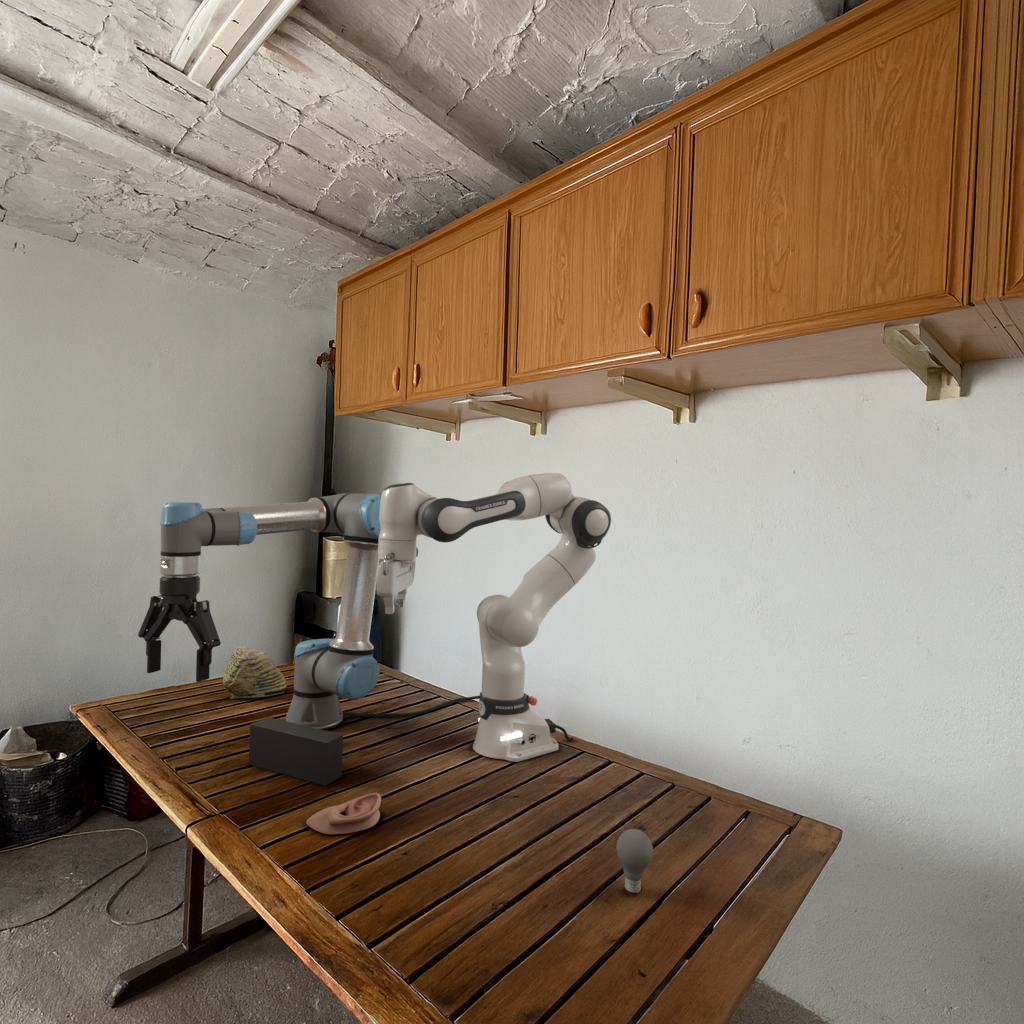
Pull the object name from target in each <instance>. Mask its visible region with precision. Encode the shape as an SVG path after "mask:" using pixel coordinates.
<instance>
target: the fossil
mask: <svg viewBox="0 0 1024 1024" xmlns="http://www.w3.org/2000/svg"><path fill="white" fill-rule="evenodd" d="M222 676H223V677H222V685H223V687H224V688H225V690H226V691H228V693H229V698H230V699H250V698H264V697H271V696H275V695H281V694H284V693H285V691H286V689H287V687H288V686H287V680H286V678H285V676H284V674H283V673H282V672H281V669H279V668H278V667H277V665H276V663H275V662H274V660H273V659H272V658H271V657H270V656H269V655H268V654H267V653H266V652H265V650H264V649H263V648H260V647H258V648H251V647H247V646H246V647H245V646H238V647H237V648H236V649H235V650H233V651H232V653H231V656H230V657H229V659H228V660H227V663H226V666H225V668H224V671H223V675H222Z"/></svg>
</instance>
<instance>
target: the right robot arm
mask: <svg viewBox="0 0 1024 1024" xmlns="http://www.w3.org/2000/svg"><path fill="white" fill-rule="evenodd" d="M381 495H382V496H381V501H380V511H379V522H380V527H381V530H380V534H379V538H378V559H380V560H382V561H380V562H379V567H378V575H377V582H376V594H377V596H378V597H383V604H384V613H385V615H393V614H394V613H395V608H396V607H397V608H404V607H405V605H406V598H407V593H408V588H410V587H411V586H413V584H414V581H415V572H416V563H417V560H416V559H417V557H419V547H417V537H418V536H421V535H423V536H424V537H427V538H430V539H433V540H434V541H436V542H439V543H452V542H454V541H456V540H459V539H460V538H462V536H463V535H465V534H466V533H468V532H469V531H471V530H473V529H474V528H478V527H481V526H484V525H490V524H492V523H497V522H500V521H512V522H513V521H516V522H517V521H525V520H533V519H536V518H539V517H540V518H541V517H544V518H545V521H546V523H547V524H548V526H549V527H550V529H552V530H553V531H554V532H555V533H557V534H560V535H561V537H560V540H559V542H558V543H557V544H556V546H555V547H554V548H552V550H550V551H549V552H548V553H547V554H545V555H544V556H543V557H542V558H541V559H540V560H539V561H538V562H537V563H536V564H534V565H533V566H532V567H531V568H530V569H529V570H527V572H525V574H524V576H523V578H522V580H521V582H520V584H519V585H518V587H517V588H516V589H515V590H514V592H513V593H512V594H511V595H509V596H507V595H504V594H493V595H488V596H486V597H484V598H483V599H482V600H481V601H480V602H479V604H478V606H477V609H476V618H477V621H478V622H477V623H478V630H479V643H480V644H479V645H480V652H481V660H482V661H481V662H482V668H481V669H482V670H481V692H479V696H480V698H479V701H478V715H479V718H478V724H477V729H476V734H475V737H474V738H475V739H474V741H473V744H472V749H473V751H474V752H476V753H477V754H479V755H481V756H483V757H487V758H491V759H497V760H505V761H508V762H513V763H518V762H522V761H526V760H529V759H532V758H536V757H540V756H543V755H546V754H550V753H553V752H557V751H559V748H560V747H559V746H560V745H559V742H558V741H557V740H556V739H555V738H554V737H553V736H551V734H556V731H557V730H556V729H558V730H560V731H561V732H562V733H563V735H564V738H565V739H566V740H567V741H568V742H573V741H574V737H573V736H572V737H569V736H568V732H567V730H566V729H565V728H564V727H562V726H560V725H558V724H556V723H554V721H552V719H550V718H543V717H542V716H541V715H540V714H539V713H537V712H536V711H535V710H534V709H532V708H531V707H530V705H531V706H532V707H533V706H536V705H537V704H538V699H537V698H536V697H534V696H533V695H529V694H527V693H525V682H526V681H525V679H526V677H525V676H526V663H525V659H524V657H523V656H524V655H523V650H522V648H524V647H527V646H529V645H530V644H531V643H533V642H534V640H535V639H536V638H537V635H538V632H539V627H540V625H541V624H542V623H543V621H544V619H545V618H546V616H547V615H548V614H549V612H550V611H551V609H553V607H554V606H555V605H556V604H557V603H558V602H559V601H560V600H561V599H562V598H563V597H564V596H566V594H567V593H568V592H570V590H571V589H573V588H574V587H575V586H576V585H577V584H578V583H579V582H580V581H581V580H582V579H583V578H584V576H586V574H587V573H588V572H589V571H590V569H591V568H592V567H593V566H594V564H595V562H596V559H597V553H596V550H595V548H596V547H598V546H600V545H601V544H602V541H603V539H604V538H605V537H606V535H607V534H608V532H609V530H610V528H611V524H612V516H611V513H610V510H609V509H608V508H607V507H606V505H604V504H602V503H601V502H599V501H597V500H593V499H590V498H586V497H582V496H574V494H573V489H572V485H571V483H570V481H569V479H568V478H567V477H566V476H565V475H564V474H561V473H557V472H546V473H545V472H544V473H534V474H528V475H524V476H520V477H515V478H513V479H511V480H508V481H506V482H504V483H503V484H501V486H500V487H499V489H498V492H497V493H495V494H492V495H487V496H484V497H478V498H475V499H474V498H473V499H471V500H460V499H456V498H451V497H442V498H441V497H439V498H438V497H436V496H434V495H431V494H430V493H427V492H426V491H424V490H422V489H421V488H419V486H417V485H416V484H415V483H413V482H403V483H395V484H390V485H387V486H386V487H385V488H384V489H383V490H382V492H381ZM395 595H397V596H396V600H395V601H394V599H395ZM394 603H396V604H394ZM395 606H396V607H395Z"/></svg>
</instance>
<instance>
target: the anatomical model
mask: <svg viewBox="0 0 1024 1024" xmlns="http://www.w3.org/2000/svg"><path fill="white" fill-rule="evenodd" d="M381 803H382V796H381V794H380V793H379V792H373V793H368V794H364V795H362V796H358V797H356V798H353V799H351V800H348V801H346V802H343V803H340V804H338V805H332V806H328V807H325V808H323V809H321V810H319V811H317V812H315V813H313V814H312V815H311V816H310V817H308V818H307V819H306V821H305V824H306V825H307V826H308V827H309V828H311V829H312V830H314V831H316V832H319V833H321V834H323V835H343V834H351V833H356V832H362V831H365V830H367V829H369V828H370V829H371V828H372V827H374V826H375V825H376V824H377V823H379V821H380V818H381V812H380V810H379V809H380V807H381Z"/></svg>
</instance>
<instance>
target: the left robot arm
mask: <svg viewBox="0 0 1024 1024" xmlns="http://www.w3.org/2000/svg"><path fill="white" fill-rule="evenodd" d="M381 496H382V494H377V493H371V492H370V493H359V492H357V493H356V492H343V493H338V494H333V495H326V496H318V497H317V496H315V497H311V498H309V499H308V500H307V501H300V502H299V501H298V502H281V503H268V504H255V505H254V504H253V505H239V506H225V507H224V506H223V507H213V508H211V507H209V508H203V505H202V504H201V502H195V501H194V502H193V501H167V502H165V503H163V505H162V508H161V515H160V560H159V562H160V563H159V564H160V565H159V574H161V575H162V576H161V577H160V578H159V594H157V595H152V596H150V599H149V600H150V601H149V607H148V609H147V611H146V615H145V617H144V619H143V621H142V624H141V626H140V628H139V630H138V633H137V635H138V638H141V639H143V640H144V641H145V655H146V661H147V662H146V673H147V674H152V673H155V672H156V673H157V672H159V671H161V668H162V639H161V635H162V634H163V632H164V631H165V630H166V628H167V627H168V625H169V624H170V623H171V622H172V621H173V620H176V621H179V622H182V623H183V624H184V625H186V626H187V628H188V630H189V632H190V633H191V635H192V637H193V639H194V640H195V642H196V644H197V645H198V647H199V648H198V649H196V663H195V664H196V665H195V666H196V667H195V682H196V683H200V682H204V681H206V680H209V679H210V665H211V664H212V662H213V661H212V660H213V659H212V657H213V649H214V648H216V647H219V646H221V643H222V642H221V639H220V637H219V634H218V630H217V628H216V625H215V621H214V619H213V616H212V613H211V608H210V606H211V605H210V600H208V599H206V600H199V601H198V599H197V596H198V594H199V593H200V591H201V577H200V576H199V575H200V573H201V567H202V565H201V563H202V562H201V557H202V547H213V546H214V547H215V546H216V547H218V546H238V547H239V546H243V545H250V544H252V543H253V542H254V541H255V539H256V537H257V536H259V535H271V534H280V533H290V532H300V531H309V530H310V531H311V532H313V533H335V534H342V535H343V540H342V541H343V543H344V545H346V547H347V554H346V562H345V570H344V576H343V584H342V590H341V591H342V592H341V600H340V605H339V612H338V613H339V614H338V620H337V627H336V634H335V638H317V639H308V640H304V641H300V642H299V643H297V645H296V646H295V650H294V655H293V657H294V672H293V673H294V674H293V695H292V696H293V697H292V699H291V702H290V704H289V707H288V709H287V713H286V715H285V721H286V722H291V723H295V724H299V725H303V726H308V727H312V728H316V729H321V730H325V731H329V730H332V729H335V728H337V727H339V726H340V725H342V723H343V722H344V716H349V717H356V718H392V717H393V718H399V717H400V718H402V717H404V718H405V717H412V716H418V715H423V714H426V713H429V712H433V711H436V710H438V709H441V708H443V707H445V706H448V705H449V706H450V705H452V704H456V703H459V702H465V701H472V700H473V701H474V700H478V699H479V698H480V695H474V696H468V697H467V696H466V697H459V698H455V699H452V700H447V701H446V702H442V703H440V704H437V705H435V706H431V707H429V708H426V709H421V710H417V711H411V712H401V713H396V712H394V713H390V712H389V713H358V712H352V711H343V709H342V706H341V702H340V699H339V698H342V699H347V700H352V701H357V700H360V699H363V698H364V697H366V696H368V695H369V694H370V692H371V691H373V690H374V689H375V687H376V686H377V683H378V680H379V678H380V673H381V672H380V671H381V670H380V665H379V664H378V661H377V660H376V659H375V658H374V648H375V647H374V645H373V644H372V643H371V641H370V635H371V626H372V620H373V619H372V618H373V611H374V605H375V604H374V603H375V598H376V597H375V596H376V591H377V577H378V568H379V564H380V560H381V559H378V538H379V534H380V530H381V527H380V522H379V511H380V501H381Z"/></svg>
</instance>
